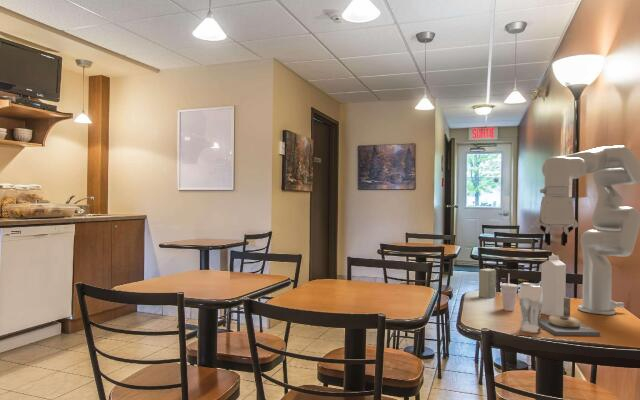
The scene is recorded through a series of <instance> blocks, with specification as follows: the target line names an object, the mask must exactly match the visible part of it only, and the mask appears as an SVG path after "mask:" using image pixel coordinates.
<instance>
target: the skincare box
mask: <svg viewBox="0 0 640 400" xmlns="http://www.w3.org/2000/svg"><path fill="white" fill-rule="evenodd" d="M478 271H479V272H478V297H479V298H484V299H490V298H495V297H496V291H497V290H496V288H497V287H496V283H497V279H496V278H497V277H496V276H497V270H496V269H493V268H489V267H487V268H481V269H479V270H478Z"/></svg>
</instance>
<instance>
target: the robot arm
mask: <svg viewBox="0 0 640 400" xmlns="http://www.w3.org/2000/svg"><path fill="white" fill-rule="evenodd" d="M541 172H542V175H543V176H544V188H540V189H539V193H541V194H543V195H544V196H542V197H541V202H540V207H539V208H540V209H539V216H538V217H537V218H536V220H535V221H534V222H533V224H534V225H535V226H536V227H537V228H539V229H540V230H541V231H542V232H543V233H544V243H546V246H551V239H552V237H551V233H550V230H551V229H550V228H551V226H561V229H562V233H561V234H560V235H561V236H560V238H561V239H560V243H561V244H560V245H561V246H564V247H566V244H568V235H569V233H570V232H572V231H573V230H574V229H576V228H578V227H579V226H580V224H579V223H578V221H577V219H575V213H574V212H575V211H574V203H573V197H572V196H570V180H575V179H580V178H583V177H585V175H587V174H591V173H592V178H593V182H594V186H595V188H596V189H595V190H596V191H597V200H596V204H595V207H594V209H593V213H592V217H591V225H592V226H593V228H595V229H588V230H585V231H584V232H583V233H582V234H581V235H580V247H581V252H582V302H581V304H579V305H577V310H579V311H582V312H584V313H588V314H594V315H604V316H605V315H606V316H609V315H611V316H612V315H615V314H616V313H617V310H616V308H624V307H625V303H624V302H622V301H621V302H620V301H619V302H618V301H617V302H616V301H614V300H613V299H612V283H613V282H612V281H613V280H612V279H613V278H612V273H613V270H612V264H611V262H610V261H609V259H608V258H607V256H612V257H613V256H614V257H620V258H621V257H623V258H624V257H626V258H627V257H629V256H631V255H632V253H633V251H634V249H635V246H636V242H637V238H638V235H639V231H640V212H639V210H638V209H637V208H635V207H632V206H623V202H624V197H623V196H622V195H623V194H621V193H620V192H619V190H618V189H617V188H616V187H615V186H617V185H618V186H620V185H622V186H623V185H637V184H639V183H640V161H639V160H638V158H637V157H636V155H635V153H634V152H633V151H632V150H631V149H630V148H629V147H627V146H625V145H613V146H610V145H609V146H600V147H596V148H595V147H594V148H591V149H588V150H583V151H579V152H574V153H570V154H565V155H560V156H559V155H558V156H551V157H547V158H546V159H545V161H544V162H543V164H542V167H541Z"/></svg>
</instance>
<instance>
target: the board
mask: <svg viewBox="0 0 640 400" xmlns="http://www.w3.org/2000/svg"><path fill="white" fill-rule="evenodd" d="M540 328H542V329H544V330H546V331H547V332H549V333H551V334H553V336H567V335H580V336H579V337H601V332H600V331H599V330H596V329H594V328H592V327H590V326H587V324H583V323H582V322H580V326H579V327H562V326H557V325H553V324H551V323H549V317H548V318H545V317H544V318H543V317H540ZM581 335H582V336H581Z"/></svg>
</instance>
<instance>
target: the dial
mask: <svg viewBox="0 0 640 400" xmlns="http://www.w3.org/2000/svg"><path fill="white" fill-rule="evenodd" d="M548 318H549V323H551V324H553V325H557V326H562V327H579V326H580V323H581V321H580V319H578V318H576V317H573V316H571V298H570V297H567V296H565V298H564V313H563V316H560V315H553V316H550V315H548Z"/></svg>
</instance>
